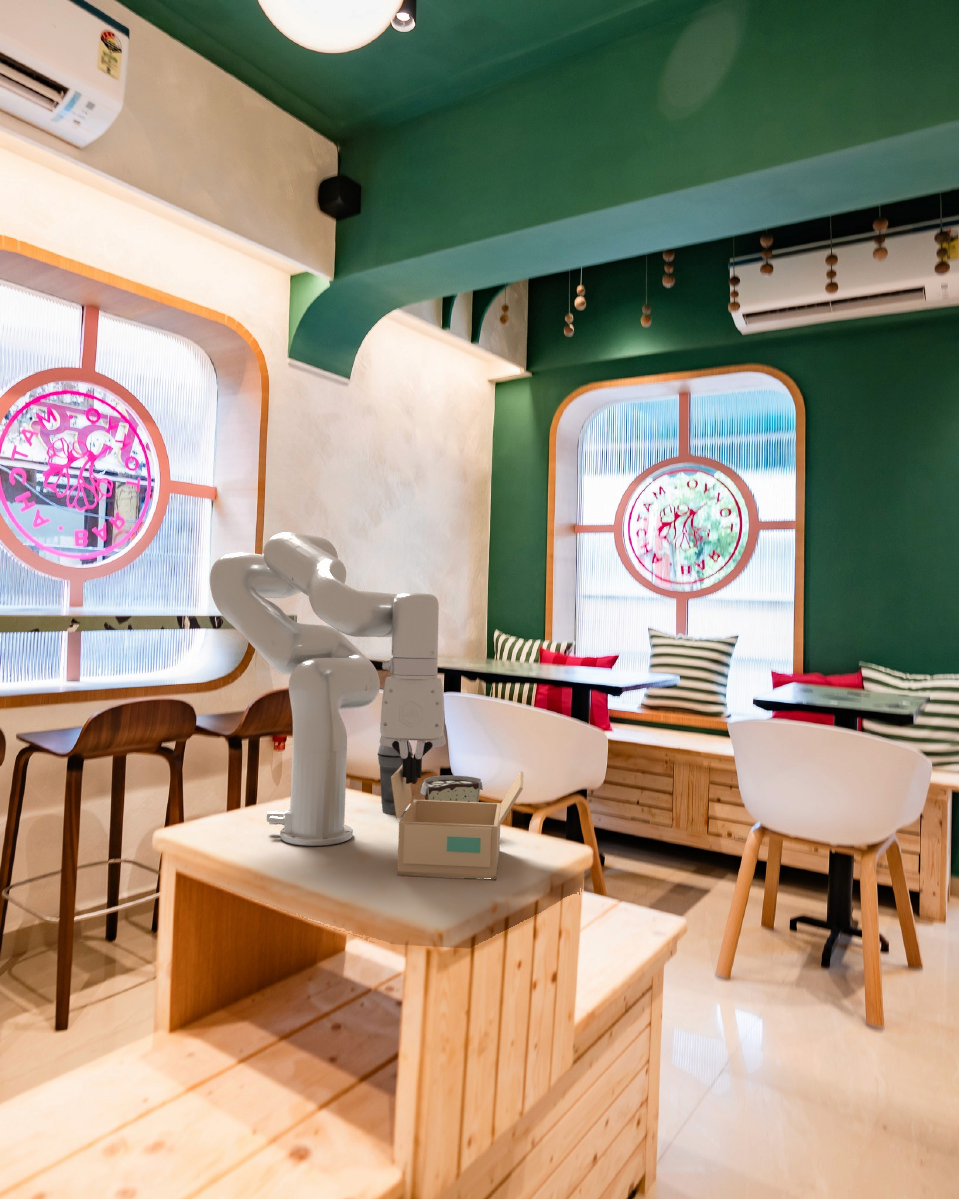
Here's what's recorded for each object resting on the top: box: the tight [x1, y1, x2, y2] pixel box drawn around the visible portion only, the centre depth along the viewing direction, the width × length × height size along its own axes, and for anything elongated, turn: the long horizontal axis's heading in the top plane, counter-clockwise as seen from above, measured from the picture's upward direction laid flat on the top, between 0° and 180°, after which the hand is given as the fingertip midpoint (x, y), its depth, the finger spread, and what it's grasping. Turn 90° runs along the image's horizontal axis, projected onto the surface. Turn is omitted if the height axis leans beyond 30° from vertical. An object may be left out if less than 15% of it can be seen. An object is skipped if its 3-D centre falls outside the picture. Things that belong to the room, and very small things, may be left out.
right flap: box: [499, 770, 524, 825], centre depth 129 cm, size 6×14×1 cm
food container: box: [420, 775, 484, 802], centre depth 147 cm, size 12×6×10 cm, turn 123°
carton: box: [396, 799, 502, 880], centre depth 129 cm, size 15×17×8 cm
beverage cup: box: [377, 741, 414, 815], centre depth 163 cm, size 7×7×20 cm
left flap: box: [391, 764, 413, 820], centre depth 130 cm, size 6×14×1 cm
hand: (411, 782), depth 130 cm, fingers closed
